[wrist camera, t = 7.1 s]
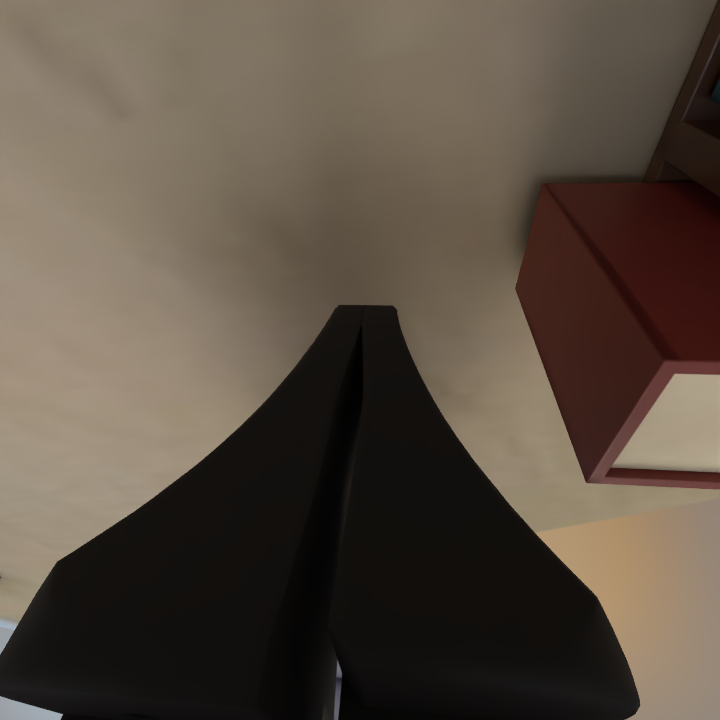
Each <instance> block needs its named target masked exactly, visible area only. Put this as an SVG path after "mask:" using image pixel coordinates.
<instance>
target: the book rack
mask: <svg viewBox="0 0 720 720" xmlns="http://www.w3.org/2000/svg"><path fill="white" fill-rule="evenodd" d="M719 78H720V1H719V3H718V5H717V8H716V10H715V13H714V15H713V17H712V20H711V22H710V24H709V27H708V29H707V32H706V34H705V36H704V39H703V41H702V43H701V46H700V48H699V50H698V53H697V55H696V58H695V60H694V62H693V65H692V67H691V69H690V72H689V74H688V77H687V79H686V81H685V84H684V86H683V88H682V91H681V93H680V96H679V98H678V100H677V103H676V105H675V107H674V110H673V112H672V115H671V117H670V119H669V122H668V124H667V126H666V129H665V131H664V134H663V136H662V138H661V141H660V143H659V145H658V148H657V150H656V153H655V155H654V157H653V160H652V162H651V164H650V167H649V169H648V172H647V174H646V176H645V179H644V181H643V183H671V182H696V183H698V184H699V185H701V186H702V187H704V188H705V189H707V190H708V191H710V192H711V193H712V194H714V195H715V196H717V197H718V198H720V103H717V102H715V101H712V100H710V98H711V95H712V93H713V91H714V89H715V87H716V85H717V83H718V80H719Z"/></svg>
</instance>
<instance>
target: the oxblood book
mask: <svg viewBox="0 0 720 720" xmlns="http://www.w3.org/2000/svg"><path fill="white" fill-rule="evenodd" d="M515 289H516V292H517V295H518V297H519V300H520V303H521V306H522V308H523V311H524V314H525V317H526V319H527V322H528V325H529V328H530V330H531V333H532V336H533V338H534V341H535V344H536V347H537V349H538V352H539V355H540V358H541V360H542V363H543V366H544V369H545V371H546V374H547V377H548V380H549V382H550V385H551V388H552V391H553V393H554V396H555V399H556V401H557V404H558V407H559V410H560V412H561V415H562V418H563V421H564V423H565V426H566V429H567V432H568V434H569V437H570V440H571V443H572V445H573V448H574V451H575V454H576V456H577V459H578V462H579V464H580V467H581V470H582V473H583V475H584V478H585V481H586V483H596V484H617V485H638V486H658V487H679V488H700V489H720V198H718V197H717V196H715V195H714V194H712V193H711V192H710V191H708V190H707V189H705V188H704V187H702V186H701V185H699V184H698V183H696V182H671V183H545V184H542V188H541V191H540V195H539V199H538V203H537V207H536V211H535V214H534V218H533V222H532V226H531V230H530V234H529V238H528V241H527V245H526V249H525V253H524V257H523V261H522V264H521V268H520V272H519V276H518V280H517V284H516V288H515Z"/></svg>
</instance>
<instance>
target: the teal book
mask: <svg viewBox="0 0 720 720" xmlns="http://www.w3.org/2000/svg"><path fill="white" fill-rule="evenodd" d="M710 100H712V101H715V102H717V103H720V78H719V80H718V83H717V85H716V87H715V89H714V91H713V93H712V95H711V98H710Z"/></svg>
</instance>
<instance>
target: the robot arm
mask: <svg viewBox="0 0 720 720" xmlns="http://www.w3.org/2000/svg"><path fill="white" fill-rule="evenodd" d="M0 696H2V697H5V698H8V699H11V700H15V701H18V702H22V703H25V704H29V705H32V706H36V707H40V708H43V709H47V710H50V711H54V712H57V713H61V714H63V716H62V718H61V720H625V719H627V718H629V717H631V716H633V715H634V714H636V712H637V710H638V708H639V707H640V699H639V695H638V692H637V689H636V686H635V682H634V679H633V676H632V673H631V670H630V668H629V665H628V662H627V660H626V657H625V655H624V653H623V651H622V648H621V646H620V644H619V642H618V639H617V637H616V635H615V632H614V630H613V628H612V626H611V624H610V622H609V620H608V618H607V616H606V614H605V612H604V610H603V608H602V606H601V604H600V602H599V600H598V598H597V597H596V595H595V594H594V593H593V592H592V591H591V590H590V589H589V588H588V587H587V586H586V585H585V584H584V583H583V582H582V581H581V580H580V579H579V578H578V577H577V576H576V575H575V574H574V573H573V572H572V571H571V570H570V569H569V568H568V567H567V566H566V565H565V564H564V563H563V562H562V561H561V560H560V559H559V558H558V557H557V556H556V555H555V554H554V553H553V552H552V551H551V549H550V548H549V547H548V546H547V545H546V544H545V543H544V542H543V541H542V540H541V539H540V538H539V537H538V536H537V535H536V534H535V532H534V531H533V530H532V529H531V528H530V527H529V526H528V525H527V523H526V522H525V521H524V520H523V519H522V518H521V517H520V516H519V515H518V513H517V512H516V511H515V510H514V509H513V508H512V507H511V506H510V504H509V503H508V502H507V501H506V500H505V498H504V497H503V496H502V495H501V493H500V492H499V491H498V490H497V488H496V487H495V486H494V485H493V484H492V482H491V481H490V480H489V479H488V477H487V476H486V475H485V474H484V472H483V471H482V470H481V469H480V468H479V466H478V465H477V464H476V463H475V461H474V460H473V459H472V457H471V456H470V454H469V453H468V452H467V450H466V449H465V448H464V446H463V445H462V443H461V442H460V441H459V439H458V438H457V436H456V435H455V433H454V432H453V430H452V429H451V427H450V426H449V424H448V423H447V421H446V420H445V418H444V417H443V415H442V413H441V412H440V410H439V408H438V407H437V405H436V403H435V402H434V400H433V398H432V396H431V395H430V393H429V391H428V389H427V387H426V385H425V384H424V382H423V380H422V378H421V376H420V374H419V372H418V370H417V367H416V365H415V363H414V361H413V359H412V357H411V354H410V352H409V350H408V347H407V345H406V342H405V339H404V336H403V334H402V331H401V327H400V324H399V319H398V314H397V309H396V308H395V307H393V306H383V305H339V306H338V307H336V308H335V310H334V311H333V313H332V315H331V316H330V318H329V320H328V321H327V323H326V324H325V326H324V328H323V329H322V331H321V332H320V334H319V335H318V336H317V338H316V339H315V341H314V342H313V344H312V345H311V346H310V348H309V349H308V350H307V352H306V353H305V354H304V356H303V357H302V358H301V360H300V361H299V362H298V364H297V365H296V366H295V368H294V369H293V370H292V371H291V372H290V373H289V375H288V376H287V377H286V378H285V379H284V381H283V382H282V383H281V384H280V385H279V386H278V388H277V389H276V390H275V391H274V392H273V393H272V395H271V396H270V397H269V398H268V399H267V400H266V401H265V402H264V403H263V404H262V405H261V406H260V407H259V408H258V409H257V410H256V411H255V412H254V413H253V414H252V415H251V416H250V417H249V418H248V419H247V420H246V421H245V422H244V423H243V424H242V425H241V426H240V427H239V428H238V429H237V430H236V431H235V432H234V433H233V434H231V435H230V436H229V437H228V438H227V439H226V440H225V441H224V442H222V443H221V444H220V445H219V446H218V447H217V448H216V449H215V450H214V451H212V452H211V453H210V454H209V455H208V456H206V457H205V458H204V459H203V460H202V461H200V462H199V463H198V464H197V465H196V466H194V467H193V468H192V469H190V470H189V471H188V472H187V473H185V474H184V475H183V476H181V477H180V478H179V479H177V480H176V481H175V482H173V483H172V484H171V485H169V486H168V487H167V488H166V489H164V490H163V491H162V492H160V493H159V494H158V495H156V496H155V497H154V498H152V499H151V500H150V501H148V502H147V503H146V504H144V505H143V506H141V507H140V508H139V509H137V510H136V511H134V512H133V513H131V514H130V515H128V516H127V517H125V518H124V519H122V520H121V521H119V522H118V523H116V524H115V525H113V526H112V527H110V528H109V529H107V530H106V531H104V532H103V533H101V534H100V535H98V536H96V537H95V538H93V539H92V540H90V541H89V542H87V543H86V544H84V545H83V546H81V547H80V548H78V549H77V550H75V551H74V552H72V553H70V554H69V555H67V556H66V557H64V558H62V559H61V560H59V561H57V563H56V564H55V566H54V567H53V569H52V570H51V572H50V573H49V575H48V576H47V578H46V579H45V581H44V583H43V584H42V586H41V587H40V589H39V590H38V592H37V593H36V595H35V597H34V598H33V600H32V602H31V604H30V605H29V607H28V609H27V610H26V612H25V614H24V615H23V617H22V619H21V621H20V622H19V624H18V626H17V627H16V629H15V631H14V633H13V634H12V636H11V638H10V639H9V641H8V643H7V644H6V646H5V648H4V650H3V651H2V653H1V655H0Z"/></svg>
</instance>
